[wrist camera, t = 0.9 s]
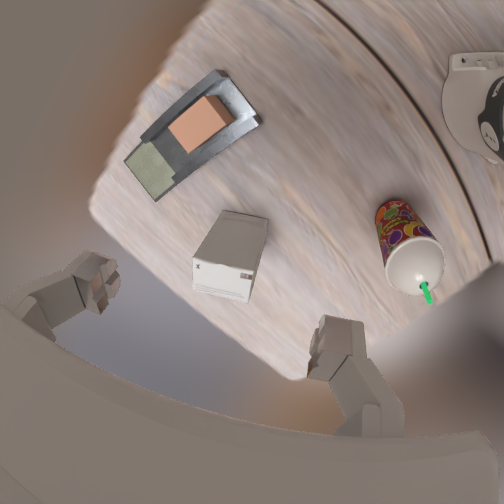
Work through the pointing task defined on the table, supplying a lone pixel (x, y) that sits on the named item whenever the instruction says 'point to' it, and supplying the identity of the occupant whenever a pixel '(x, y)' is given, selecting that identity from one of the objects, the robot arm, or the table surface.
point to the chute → (169, 148)
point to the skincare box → (230, 256)
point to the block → (201, 122)
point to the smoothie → (409, 251)
